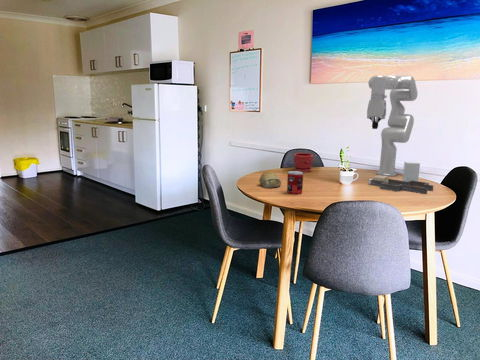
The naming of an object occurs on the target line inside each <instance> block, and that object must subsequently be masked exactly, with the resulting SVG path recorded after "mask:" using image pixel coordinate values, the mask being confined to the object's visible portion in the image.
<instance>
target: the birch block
mask: <svg viewBox="0 0 480 360" xmlns="http://www.w3.org/2000/svg"><path fill="white" fill-rule="evenodd" d="M373 178H374V180H377V181H384V182H387V184H388V179H389V176H383V175H378V174H377V175H375V176H373Z"/></svg>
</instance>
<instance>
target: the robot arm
mask: <svg viewBox="0 0 480 360" xmlns="http://www.w3.org/2000/svg"><path fill="white" fill-rule="evenodd" d="M368 87H369V88H370V90H371V91H370V99H369V102H368V104H367V109H366V119H367V120H368V119H369V120H370V121H371V123H372V126H371V127H372V130H377V129H378V128H379V122H380V121H381V120H386V116H387V101H386V98H387V97H388V96H387V95H386V91H387V90H390V92H389V101H390V106H391V109H390V113H389V116H388V119H387V127H385V128H383V129H382V130H381V134H380V137H381V148H380V159H379V160H380V161H379V169H378V171H376V174H377V176H378V175H381V176H387V177H394V176H395V177H396V176H397V173H396V172H395V171H396V159H397V158H396V157H397V150H398V149H397V146H396V145H395V143H399V144H405V143H407V142H409V140H410V136H411V134H412V131H413V130H412V129H413V127H414V124H415V123H414V122H415V117H414V116H413V115H412V114H411V113H410V114H409V113H405V111H406V108H405V106H404V105H403V104H402V103H401V102H414V101H415V100H416V99H418V98H417V97H418V89H417V83H416V80H415V78H414V77H413V76H412V75H374V76H371V77H370V78H369V80H368Z"/></svg>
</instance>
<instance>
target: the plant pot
mask: <svg viewBox="0 0 480 360" xmlns="http://www.w3.org/2000/svg"><path fill="white" fill-rule="evenodd" d="M313 161H314V155H313V154H312V153H308V152H298V153H294V154H293V162H294V163H293V164H294V171H300V172H303V173H308V172H309V173H310V171H312V168H311V167H312V165H313V163H314V162H313Z"/></svg>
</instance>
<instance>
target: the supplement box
mask: <svg viewBox="0 0 480 360" xmlns="http://www.w3.org/2000/svg"><path fill="white" fill-rule="evenodd" d="M420 166H421V162H418V161H407V160H406V161H404V164H403V174H402V181H406V182H408V181H411V180H412V181H419V176H420V169H421V167H420Z"/></svg>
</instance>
